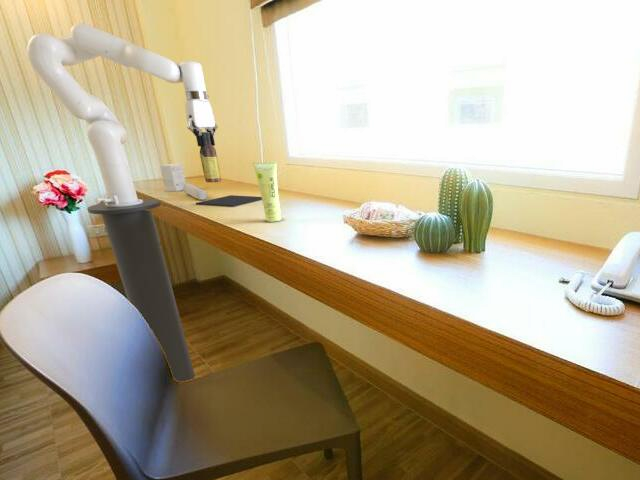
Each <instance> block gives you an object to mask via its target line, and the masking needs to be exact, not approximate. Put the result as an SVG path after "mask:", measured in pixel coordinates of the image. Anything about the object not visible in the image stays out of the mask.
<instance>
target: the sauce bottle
mask: <svg viewBox="0 0 640 480" xmlns="http://www.w3.org/2000/svg"><path fill="white" fill-rule="evenodd" d="M201 136H203V137H204V142H205V146H200V147H199V158H200V162H201V167H202V172H203V177H204V180H205V182H206V183H220V182H221V181H222V178H221V177H222V176H221V175H222V174H221V170H220V164H219V160H218V154H217V150H216V148H215V146H213V145H212V144H211V139H210V132H206V131H202V135H201Z"/></svg>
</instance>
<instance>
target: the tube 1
mask: <svg viewBox="0 0 640 480" xmlns="http://www.w3.org/2000/svg"><path fill="white" fill-rule="evenodd" d="M182 191H183V193H184V194H187V195H189V196H191V197H192V198H195V199H196V200H198V201H206V199H207V197H208V194H207V191H205V190H203V189H202V188H199V187H197V186H195V185H194V184H192V183H186V184H185V185H184V187H183V190H182Z"/></svg>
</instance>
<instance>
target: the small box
mask: <svg viewBox="0 0 640 480" xmlns="http://www.w3.org/2000/svg"><path fill="white" fill-rule="evenodd" d="M159 168H160V172H161V176H162V180H163V184H164V188H165V191H166V192H172V193H173V192H176V193H177V192H181V191H184V190H183V187H184V185H185V184H187V183H186V177H185V173H184V167H183V164H182V163H169V164H161V165H159Z"/></svg>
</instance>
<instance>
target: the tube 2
mask: <svg viewBox="0 0 640 480" xmlns="http://www.w3.org/2000/svg"><path fill="white" fill-rule="evenodd" d="M252 166H253V168H254V171H255V175H256V180H257V184H258V187H259V191H260V197H262V200H261V201H262V206H263V210H264V216H265V221H266V222H268V223H274V222H280V221H281V220H282V216H281V214H282V213H281V206H280V198H279V197H280V196H279V188H278V176H277V175H278V174H277V161H273V160H272V161H253V162H252Z"/></svg>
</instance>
